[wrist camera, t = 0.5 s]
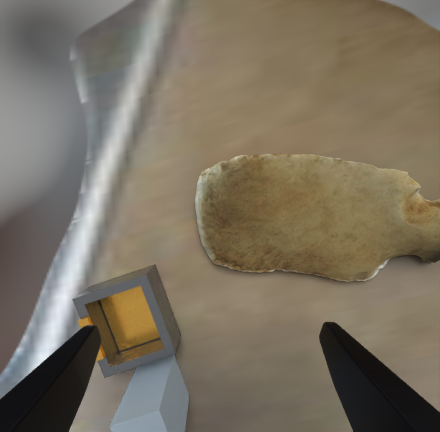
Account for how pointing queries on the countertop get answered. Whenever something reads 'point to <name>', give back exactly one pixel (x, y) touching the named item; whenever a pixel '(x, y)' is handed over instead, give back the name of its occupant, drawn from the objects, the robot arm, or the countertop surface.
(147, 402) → the pale blue upright block
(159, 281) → the rack
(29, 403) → the robot arm
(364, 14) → the countertop surface
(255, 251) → the stone tool
